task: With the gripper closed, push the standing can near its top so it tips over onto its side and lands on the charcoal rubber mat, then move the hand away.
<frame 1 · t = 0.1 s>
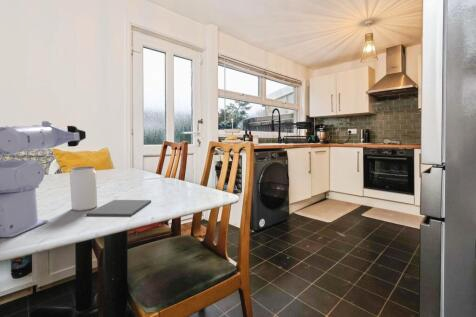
hand: (71, 134, 71), 22 cm above the table, tool horizontal, fingers open, 7 cm apart
can: (85, 208, 70), on the table
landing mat: (121, 208, 70), on the table
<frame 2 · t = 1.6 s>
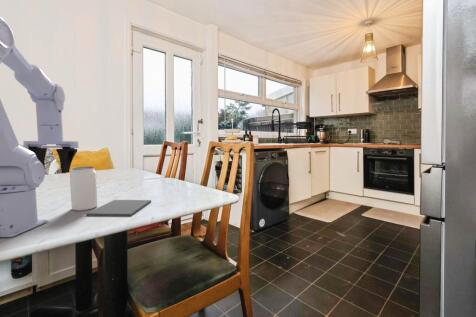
hand: (52, 172, 69), 10 cm above the table, tool pointing down, fingers open, 7 cm apart
nothing on the table moved.
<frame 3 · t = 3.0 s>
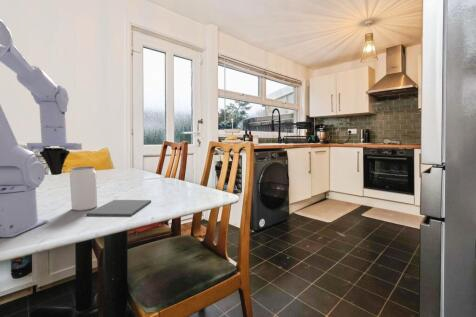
hand: (56, 174, 69), 10 cm above the table, tool pointing down, fingers closed
nothing on the table moved.
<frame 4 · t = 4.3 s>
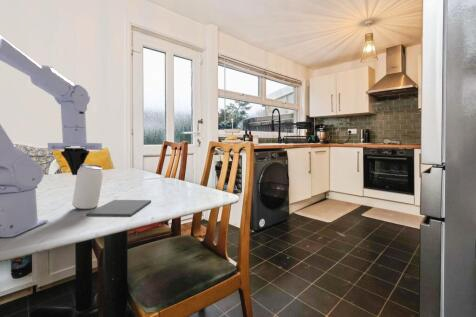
hand: (76, 174, 69), 10 cm above the table, tool pointing down, fingers closed
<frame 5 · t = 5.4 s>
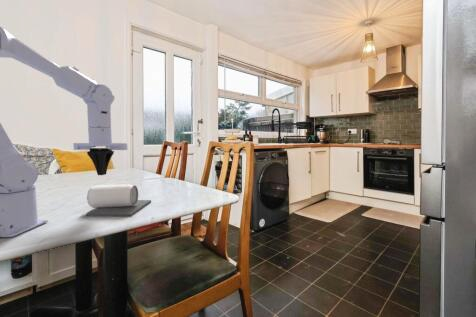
hand: (101, 174, 69), 10 cm above the table, tool pointing down, fingers closed
can: (92, 196, 69), point 3 cm above the table, touching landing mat
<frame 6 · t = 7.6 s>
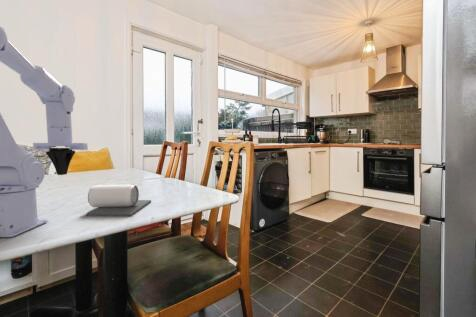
hand: (62, 174, 69), 10 cm above the table, tool pointing down, fingers closed
nothing on the table moved.
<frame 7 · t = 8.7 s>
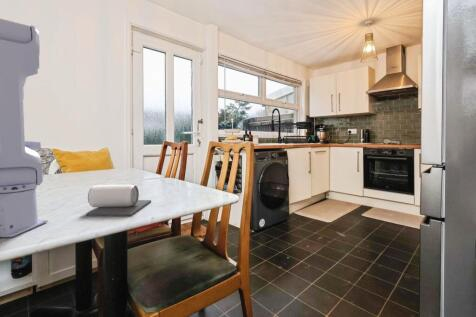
hand: (12, 175, 64), 10 cm above the table, tool pointing down, fingers closed
nothing on the table moved.
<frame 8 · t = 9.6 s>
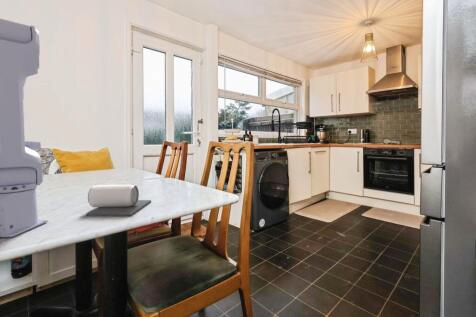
hand: (12, 175, 64), 10 cm above the table, tool pointing down, fingers closed
nothing on the table moved.
at the end: can tilted 89°; can touching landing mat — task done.
